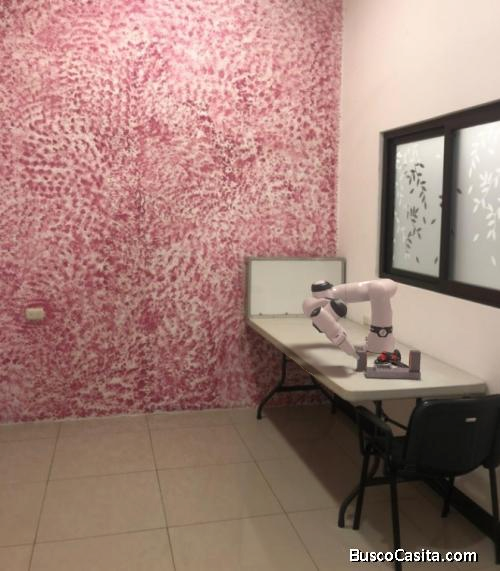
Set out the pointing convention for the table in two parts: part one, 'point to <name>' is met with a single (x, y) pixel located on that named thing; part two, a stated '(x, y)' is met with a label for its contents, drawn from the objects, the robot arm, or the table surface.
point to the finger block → (362, 360)
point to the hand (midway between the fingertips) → (357, 356)
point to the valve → (390, 358)
